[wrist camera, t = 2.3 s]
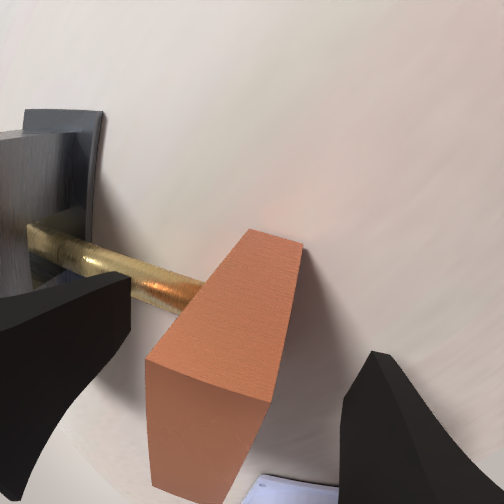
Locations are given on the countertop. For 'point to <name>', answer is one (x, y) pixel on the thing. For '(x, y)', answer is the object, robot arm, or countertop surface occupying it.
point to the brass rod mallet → (202, 352)
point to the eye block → (45, 192)
